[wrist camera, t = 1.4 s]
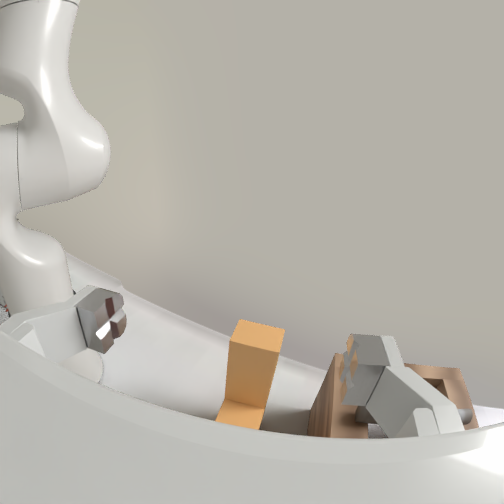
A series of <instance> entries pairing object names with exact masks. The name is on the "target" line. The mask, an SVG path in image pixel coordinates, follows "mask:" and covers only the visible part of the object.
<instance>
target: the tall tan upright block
mask: <svg viewBox="0 0 504 504" xmlns="http://www.w3.org/2000/svg"><path fill="white" fill-rule="evenodd" d="M284 332H285V330H284V329H280V328H276V327H271V326H267V325H263V324H258V323H254V322H250V321H246V320H242V319H240V320H239V322H238V324H237V326H236V328H235V331H234V333H233V335H232V337H231V339H230V342H229V353H228V364H227V376H226V388H225V399H224V401H223V403H222V406H221V408H220V411H219V413H218V415H217V418H216V420H215V421H216V422H221V423H225V424H230V425H235V426H240V427H245V428H251V429H257V430H259V428H260V424H261V421H262V418H263V414H264V410H265V407H266V403H267V399H268V396H269V392H270V388H271V385H272V381H273V377H274V373H275V369H276V365H277V361H278V357H279V352H280V348H281V344H282V340H283V336H284Z"/></svg>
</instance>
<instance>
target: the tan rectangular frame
mask: <svg viewBox="0 0 504 504" xmlns="http://www.w3.org/2000/svg"><path fill="white" fill-rule="evenodd" d="M342 356H343V354H338V353H335V355H334V357H333V360H332V362H331V365H330V367H329V370H328V372H327V374H326V376H325V379H324V381H323V383H322V386H321V388H320V390H319V392H318V395H317V397H316V399H315V401H314V403H313V406H312V408H311V410H310V417H309V424H308V431H307V436H312V437H326V438H350V439H368V423H372V424H378V423H377V422H376V421H375V419H374V418H373V417H372V415H371V414H370V413H369V411H368V410H367V409H366V406H355V405H343V404H341V393H340V389H341V387H342V384H343V383H342V382H341V381H340V379H339V369H340V364H341V359H342ZM404 366H405V367H409V368H411V369H412V370H413V371H414V372H415V373H417V374H418V375H419V376H420V377H422V378H423V379H424V380H425V381H427V382H428V383H429V384H430V385H432V386H433V387H434V388H435V389H437V390H438V391H439V392H440V393H441V394H443V395H444V396H445V397H446V398H448V399H449V400H450V401H451V402H453V403H454V404H455V405H456V407H457V410H458V413H459V415H460V418H461V421H462V423H463V426H464V429H465V430H470V429H475V428H479V426H478V422H477V419H476V415H475V412H474V409H473V406H472V403H471V399H470V396H469V394H468V391H467V388H466V385H465V382H464V379H463V377H462V374H461V371H460V369H458V368H445V367H434V366H424V365H415V364H406V363H404Z"/></svg>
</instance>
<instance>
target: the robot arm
mask: <svg viewBox="0 0 504 504" xmlns="http://www.w3.org/2000/svg"><path fill="white" fill-rule="evenodd" d="M79 3H80V0H0V94H3V95H5V96H8V97H11V98H14V99H16V100H17V101H19V102H20V103H21V104H22V106H23V108H24V114H25V115H24V118H23V119H22V120H21V121H18V125H17V123H12V124H6V125H1V126H0V289H1V291H2V294H3V296H4V299H5V302H6V305H5V306H4V307H8V308H7V310H6V312H8V315H9V318H8V319H7V320H6V321H4V322H3V323H2V324H0V504H504V422H502V423H498V424H494V425H489V426H485V427H480V428H475V429H470V430H465V429H464V426H463V423H462V421H461V418H460V415H459V413H458V410H457V407H456V405H455V404H454V403H453V402H451V401H450V400H449V399H448V398H446V397H445V396H444V395H443V394H441V393H440V392H439V391H438V390H437V389H435V388H434V387H433V386H432V385H430V384H429V383H428V382H427V381H425V380H424V379H423V378H422V377H420V376H419V375H418V374H417V373H415V372H414V371H413V370H412V369H411V368H409V367H405V366H404V363H403V360H402V358H401V355H400V352H399V349H398V346H397V344H396V341H395V338H394V337H392V336H373V335H360V334H350V336H349V338H348V341H347V350H348V351H346V352H345V353H344V354H343V356H342V359H341V364H340V369H339V379H340V381H341V382H342V383H343V384H342V387H341V389H340V393H341V404H343V405H355V406H366V409H367V410H368V411H369V413H370V414H371V415H372V417H373V418H374V419H375V421H376V422H377V423H378V425H379V426H380V427H381V429H382V430H383V431H384V432H385V434H386V435H387V436H388V438H382V439H350V438H326V437H312V436H301V435H292V434H284V433H276V432H269V431H263V430H257V429H251V428H245V427H240V426H235V425H230V424H225V423H221V422H216V421H212V420H208V419H204V418H200V417H196V416H192V415H188V414H185V413H181V412H178V411H174V410H171V409H168V408H164V407H161V406H158V405H155V404H152V403H149V402H146V401H143V400H140V399H137V398H135V397H132V396H129V395H126V394H124V393H121V392H119V391H116V390H114V389H111V388H109V387H106V386H104V385H101V384H99V381H100V379H101V376H102V373H103V362H102V359H101V357H100V355H99V353H98V352H101V353H103V354H105V353H106V352H107V351H108V350H109V348H110V347H111V346H112V345H113V344H114V339H115V338H118V337H120V336H121V335H122V334H123V333H124V330H125V327H126V320H127V319H126V314H125V312H124V311H123V310H122V306H123V305H124V301H123V296H122V295H121V294H120V293H117V292H113V291H109V290H106V289H102V288H99V287H95V286H91V285H87V286H86V287H85V288H83V289H82V290H80V291H79V292H78V293H75V291H74V290H73V289H72V284H71V279H70V274H69V269H68V264H67V258H66V253H65V251H64V249H63V247H62V245H61V244H60V242H59V241H58V240H56V239H55V238H54V237H52V236H50V235H49V234H46V233H44V232H40V231H36V230H32V229H29V228H26V227H25V226H23V225H22V224H21V223H20V222H19V221H18V220H17V218H16V215H17V214H18V213H19V212H21V208H22V211H23V210H27V209H31V208H35V207H39V206H44V205H49V204H53V203H58V202H62V201H67V200H70V199H72V198H74V197H76V196H79V195H82V194H84V193H86V192H89V191H91V190H93V189H96V188H97V187H98V186H99V185H100V184H101V182H102V180H103V179H104V177H105V175H106V173H107V170H108V167H109V164H110V156H111V148H110V142H109V138H108V135H107V133H106V131H105V129H104V128H103V126H102V125H101V124H100V123H99V122H98V121H97V120H96V119H95V118H93V117H92V116H91V115H90V114H89V113H88V112H87V111H86V110H85V109H84V108H83V107H82V106H81V104H80V102H79V101H78V99H77V97H76V95H75V93H74V91H73V89H72V86H71V82H70V78H69V70H68V58H69V49H70V41H71V35H72V30H73V26H74V21H75V17H76V14H77V10H78V7H79ZM17 126H18V127H17ZM17 165H18V171H17ZM18 181H19V186H18ZM19 192H20V197H19ZM20 201H21V206H20Z"/></svg>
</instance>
